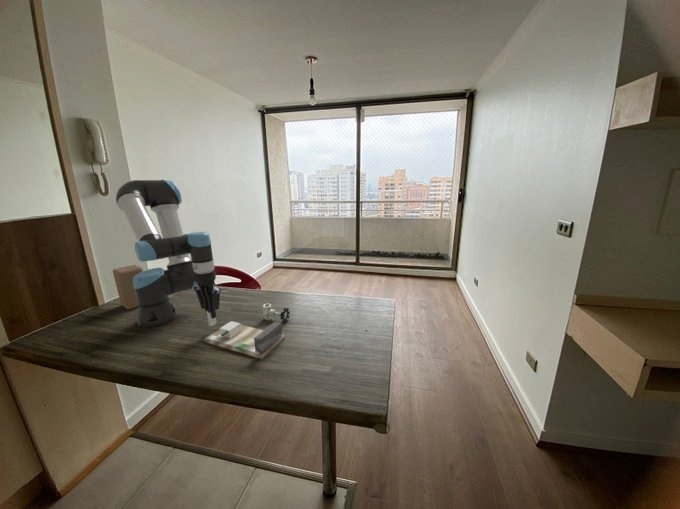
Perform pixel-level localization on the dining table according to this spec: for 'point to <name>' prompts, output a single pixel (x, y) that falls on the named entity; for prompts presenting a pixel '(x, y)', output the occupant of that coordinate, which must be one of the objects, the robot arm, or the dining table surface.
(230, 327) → the white rectangular block
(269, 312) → the valve
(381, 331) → the dining table surface
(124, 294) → the wooden block
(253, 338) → the board
